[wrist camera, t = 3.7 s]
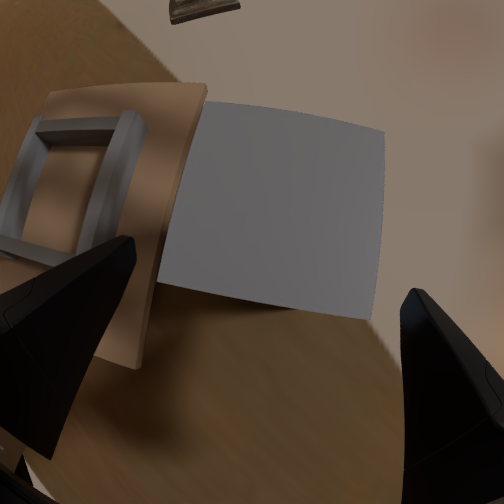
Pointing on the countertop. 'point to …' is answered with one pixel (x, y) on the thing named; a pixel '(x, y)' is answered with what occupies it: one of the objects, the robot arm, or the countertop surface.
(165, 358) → the countertop surface
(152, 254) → the jig cradle
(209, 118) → the block
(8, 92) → the countertop surface
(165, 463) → the countertop surface
